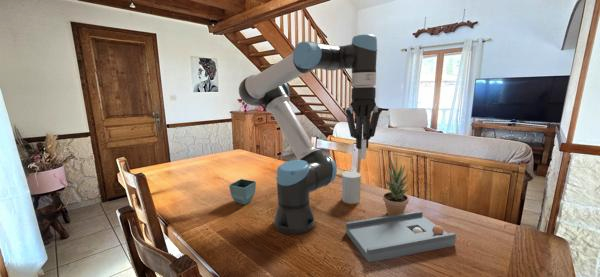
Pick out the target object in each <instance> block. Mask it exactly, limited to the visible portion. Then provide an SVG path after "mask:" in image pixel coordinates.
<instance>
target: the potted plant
mask: <svg viewBox="0 0 600 277" xmlns="http://www.w3.org/2000/svg"><path fill="white" fill-rule="evenodd" d="M389 162H390V166H391V169H392V170H391V169H390V167H389V166H388V168H387V169H388V173H389V176H390V179H391V180H389V181H388V180H386V179H384V182H385V184H386V185H387V186H388V190H389V191H390V192H389V191H388V192H385V193H383V195H382V200H383V202H384V204H385V209H386V212H387V216H390V215H397V214H403V213H405V210H406V207H407V205H408V204H409V202H410V201H409V200H410V199H409V198H410V197H409V196H408V195H406V194H405V193H407V192H408V191H409V190H410V188H409V186H406V184H407V183H408V180H407V177H408V175H409V172H407V173H406V175H405V176H404V177H403V174H404V171H405V169H406V168H405V167H406V164H404V165H400V168H399V171H398V155H397V154H396V155H395V165H394V163H393V161H392V157H391V156H389ZM394 166H395V167H394ZM406 180H407V181H406ZM405 186H406V187H405Z"/></svg>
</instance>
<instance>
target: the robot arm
mask: <svg viewBox="0 0 600 277" xmlns="http://www.w3.org/2000/svg"><path fill="white" fill-rule="evenodd" d="M377 42H378V40H377V36H376V35H374V34H370V33H369V34H366V33H365V34H357V35H355V36H353V37H352V40H351V44H347V45H346V44H345V45H334V44H333V45H331V44H324V43H318V42H314V41H300V42H298V43H297V44H296V45H295V47H294V49H293V51H292V53H291V54H289V55H288V56H286V57H285V58H282V59H281V60H280V61H278V62H276V63H274V64H273V65H271V66H269V67H267V68H265V69H264V70H262V71H260V72H259V73H258V74H251V75H249V76H247V77H245V78H244V79H243V80H242V81H241V82H240V83H239V86H238V93H239V94H238V95H239V97H240V99H241V100H242V101H243V102H244V103H245V104H246V105H249V106H253V107H256V106H263V107H264V109H265V111H266V112H267V113H268V114H269V113H270V114H271V115H272V116H273V118H274V120H275V121H276V123H277V125H278V127H279V128H280V131H281V132H282V134H283V136H284V137H285V139H286V141H287V143H288V144H289V147H290V148H291V150H292V152H293V153H294V155H295V157H296V158H297V159H294V160H288V161H285V162H283V163H281V164H280V165H279V166H278V167H277V170H276V190H277V208H276V212H275V215H274V218H273V220H274V221H273V223H274V224H273V225H274V228H275V229H276V230H277V231H278V232H279V233H280V234H281V233H282V234H285V235H290V236H294V235H301V234H304V233H307V232H309V231H311V230H312V229H313V228H314V227H315V214H314V213H313V210H312V207H311V204H310V193H313V192H315V191H317V190H319V189H321V188H324V187H326V186H328V185H330V184H332V183H333V182H334V181H335V179H336V178H337V172H338V170H337V164H336V161H335V160H334V159H333V158H332V157H331V156H329V155H325V154H324V153H323V152H322V150H321V149H320V148H316V147H315V145H314V143H313V142H312V140H311V138H310V137H309V135H308V133H307V132H306V131H305V128H304V127H303V124H302V123H301V122H300V120H299V119H298V117H297V115H296V113H295V111H294V110H293V108H292V107H291V105H290V101H291V100H290V96H291V93H290V87H289V85H288V84H287V83H289V82H292V81H293V80H295V79H297V78H299V77H302V76H303V75H305V74H307V73H310V72H312V71H314V70H325V71H333V72H334V71H339V70H340V71H341V70H347V69H348V70H350V69H351V86H352V88H351V95H350V96H351V102H350V104H349V106H348V108H344V109H343V113H344V115H345V116H346V120H347V125H348V130H349V134H350V137H352V138H354V139H355V147H356V149H357V158H359V159H361V160H366V159H367V149H369V140H370V139H371V138H373V137H375V134H376V130H377V126H378V122H379V118H380V115H381V114H382V111H383V108H382V107H379V106H378V105H377V103H376V100H375V99H376V92H377V89H376V87H374V86H376V82H377V58H378V57H377V56H378V43H377ZM353 113H354V115H355V116H354V115H353ZM371 114H372V115H371ZM354 117H355V119H354Z"/></svg>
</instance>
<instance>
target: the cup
mask: <svg viewBox="0 0 600 277" xmlns="http://www.w3.org/2000/svg"><path fill="white" fill-rule="evenodd" d="M361 180H362V174H361V173H360V172H357V171H344V172H342V174H341V201H342V202H344V203H346V204H349V205H350V204H351V205H355V204H359V203H360V202H361V188H362V187H361V184H362V182H361Z"/></svg>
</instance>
